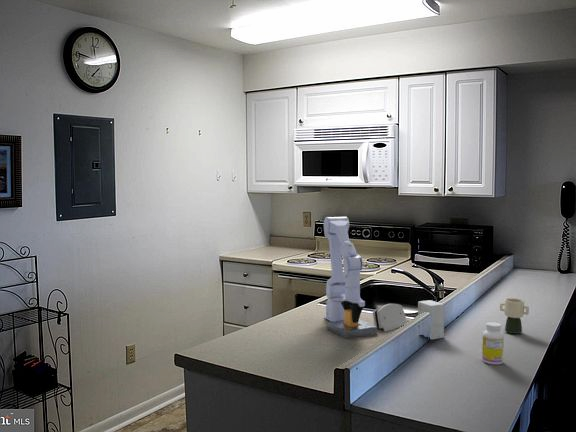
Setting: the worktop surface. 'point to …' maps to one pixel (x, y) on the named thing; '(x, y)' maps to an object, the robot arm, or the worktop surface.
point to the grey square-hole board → (352, 329)
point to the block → (349, 318)
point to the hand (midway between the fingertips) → (352, 320)
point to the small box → (434, 317)
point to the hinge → (389, 317)
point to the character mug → (514, 314)
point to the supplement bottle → (493, 344)
